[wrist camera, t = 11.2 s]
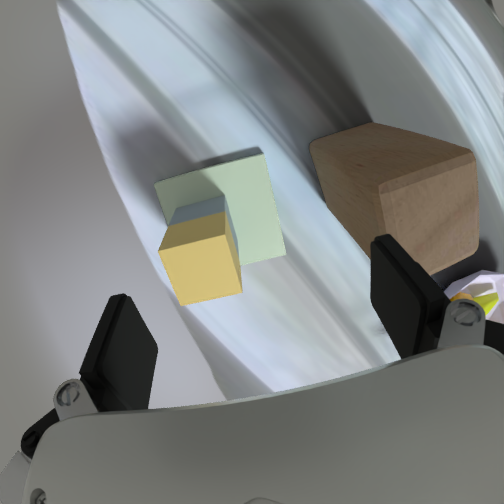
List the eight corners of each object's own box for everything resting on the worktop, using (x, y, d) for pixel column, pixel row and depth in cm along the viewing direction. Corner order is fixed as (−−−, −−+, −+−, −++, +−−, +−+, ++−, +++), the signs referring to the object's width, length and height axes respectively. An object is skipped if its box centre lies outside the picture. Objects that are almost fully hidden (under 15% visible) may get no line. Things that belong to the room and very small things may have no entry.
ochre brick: (168, 226, 33) (158, 251, 28) (225, 211, 33) (225, 234, 28) (186, 275, 36) (180, 305, 31) (239, 262, 36) (242, 292, 30)
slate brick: (176, 208, 38) (167, 226, 33) (224, 194, 38) (224, 211, 33) (191, 251, 41) (186, 275, 36) (237, 240, 41) (239, 262, 36)
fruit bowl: (505, 241, 46) (540, 269, 36) (482, 337, 59) (505, 367, 49) (393, 282, 48) (425, 325, 38) (387, 379, 60) (405, 418, 50)
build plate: (155, 182, 38) (153, 184, 37) (263, 152, 37) (264, 154, 36) (188, 274, 44) (188, 278, 43) (285, 251, 44) (286, 254, 43)
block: (304, 141, 37) (374, 183, 19) (374, 119, 36) (478, 147, 18) (326, 211, 41) (393, 297, 24) (390, 188, 40) (482, 254, 22)
